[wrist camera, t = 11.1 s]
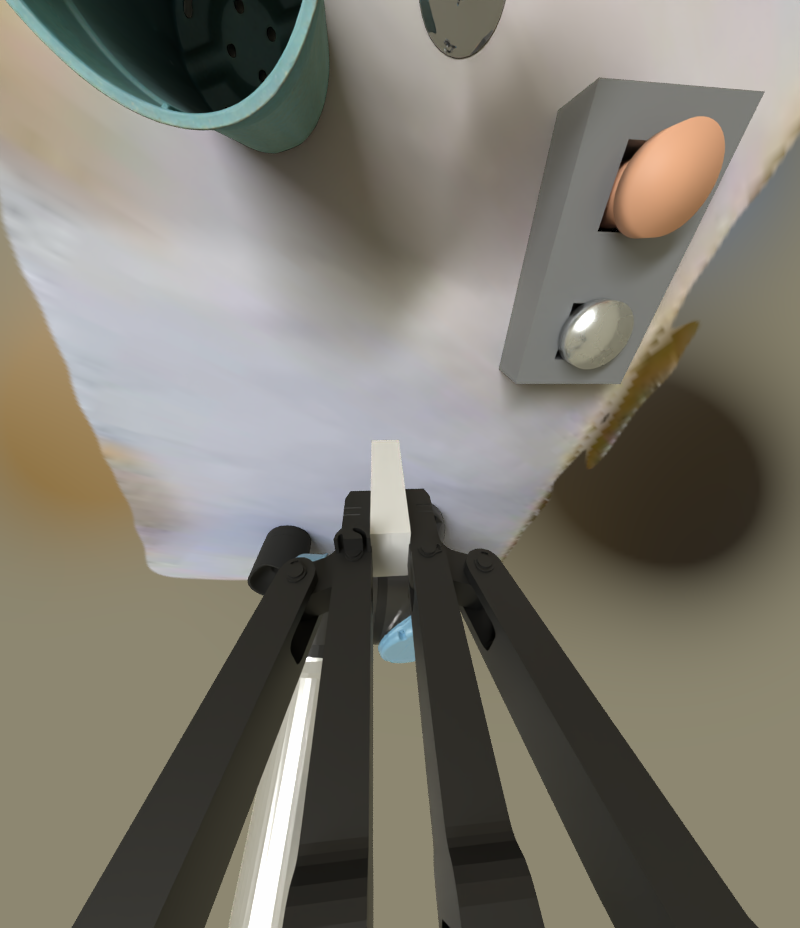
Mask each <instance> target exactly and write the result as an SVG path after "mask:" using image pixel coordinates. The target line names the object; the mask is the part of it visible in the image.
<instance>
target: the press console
mask: <svg viewBox="0 0 800 928" xmlns="http://www.w3.org/2000/svg"><path fill="white" fill-rule="evenodd" d="M763 94H764V92H763V91H751V90H739V89H727V88H715V87H704V86H692V85H680V84H668V83H656V82H644V81H633V80H621V79H609V78H598V79H597V80H596V81H594V82H593V83H592V84H591V85H589V86H588V87H587V88H586V89H584V90H583V91H582V92H581V93H579V94H578V95H577V96H576V97H574V98H573V99H572V100H571V101H569V102H568V103H567V104H566V105H564V106H563V107H562V108H561V109H559V110H558V114H557V118H556V123H555V127H554V131H553V136H552V140H551V144H550V149H549V153H548V157H547V162H546V166H545V170H544V175H543V179H542V184H541V188H540V192H539V197H538V201H537V205H536V210H535V214H534V218H533V223H532V227H531V231H530V236H529V240H528V244H527V249H526V253H525V258H524V262H523V266H522V271H521V275H520V279H519V284H518V288H517V292H516V297H515V301H514V305H513V310H512V314H511V318H510V323H509V327H508V332H507V336H506V340H505V345H504V349H503V353H502V358H501V362H500V366H499V369H500V370H501V371H502V372H503V373H504V374H505V375H506V376H508V377H509V378H510V379H511V380H512V381H513V382H514V383H515V384H620V383H621V381H622V379H623V377H624V375H625V373H626V371H627V369H628V367H629V365H630V363H631V361H632V359H633V357H634V355H635V353H636V351H637V349H638V347H639V345H640V343H641V341H642V339H643V337H644V335H645V333H646V331H647V329H648V327H649V325H650V323H651V321H652V319H653V317H654V315H655V313H656V311H657V309H658V307H659V305H660V302H661V300H662V298H663V296H664V294H665V292H666V290H667V288H668V286H669V284H670V282H671V280H672V278H673V276H674V274H675V272H676V270H677V268H678V266H679V264H680V262H681V260H682V258H683V256H684V254H685V252H686V250H687V248H688V246H689V244H690V242H691V240H692V238H693V236H694V234H695V232H696V230H697V228H698V226H699V224H700V221H701V219H702V217H703V215H704V213H705V211H706V209H707V207H708V205H709V203H710V201H711V199H712V197H713V195H714V193H715V191H716V189H717V187H718V185H719V183H720V181H721V179H722V177H723V175H724V173H725V171H726V169H727V167H728V165H729V163H730V161H731V159H732V157H733V155H734V153H735V151H736V149H737V147H738V145H739V143H740V141H741V138H742V136H743V134H744V132H745V130H746V128H747V126H748V124H749V122H750V120H751V118H752V116H753V114H754V112H755V110H756V108H757V106H758V104H759V102H760V100H761V98H762V96H763ZM697 116H705V117H709V118H711V119H714V120H715V121H716V122H717V123H718V124H719V125H720V127H721V129H722V131H723V134H724V139H725V154H724V160H723V164H722V168H721V171H720V174H719V176H718V179H717V181H716V183H715V185H714V187H713V189H712V191H711V193H710V194H709V196H708V198H707V199H706V201H705V202H704V203H703V205H702V206H701V207H700V209H699V210H698V211H697V212H696V213H695V214H694V215H693V216H692V217H691V218H690V219H689V220H688V221H687V222H686V223H685V224H683V225H682V226H681V227H679V228H678V229H676V230H675V231H673V232H671V233H669V234H667V235H664V236H660V237H653V238H639V239H634V238H629V237H626V236H625V235H623V234H622V233H621V232H620V231H619V230H618V228H617V231H616V232H598V229H599V226H600V223H601V220H602V217H603V214H604V211H605V208H606V205H607V202H608V199H609V196H610V193H611V190H612V187H613V184H614V181H615V178H616V175H617V172H618V169H619V166H620V163H621V161H626V160H629V159H631V158H632V157H633V155H634V154H635V153H636V152H637V150H638V149H639V148H640V147H641V146H642V145H643V144H644V143H645V142H646V141H647V140H648V139H650V138H651V137H652V136H654V135H655V134H657V133H658V132H660V131H662V130H664V129H666V128H669V127H671V126H673V125H675V124H678V123H680V122H682V121H685V120H687V119H690V118H693V117H697ZM599 298H604V299H610V300H616V301H620V302H623V303H625V304H627V305H628V306H629V307H630V309H631V311H632V313H633V317H634V325H633V330H632V333H631V336H630V338H629V340H628V342H627V344H626V345H625V347H624V348H623V349H622V350H621V352H620V353H619V354H618V355H617V356H616V357H615V358H613V359H612V360H611V361H609V362H608V363H606V364H604V365H602V366H600V367H597V368H594V369H580V368H578V367H575V366H574V365H572V364H570V363H568V362H566V361H565V360H564V359H563V358H562V357H561V355H560V353H559V350H558V337H559V333H560V331H561V328H562V326H563V324H564V323H565V321H566V320H567V318H568V317H569V315H570V312H571V309H572V306H573V303H586V302H588V301H591V300H594V299H599Z"/></svg>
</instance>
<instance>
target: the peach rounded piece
mask: <svg viewBox="0 0 800 928" xmlns="http://www.w3.org/2000/svg"><path fill="white" fill-rule="evenodd" d="M724 154H725V139H724V134H723V131H722V129H721V127H720V125H719V124H718V123H717V122H716V121H715V120H714V119H711V118H709V117H705V116H697V117H693V118H690V119H687V120H685V121H682V122H680V123H678V124H675V125H673V126H671V127H669V128H666V129H664V130H662V131H660V132H658V133H657V134H655V135H654V136H652V137H651V138H650V139H648V140H647V141H646V142H645V143H644V144H643V145H642V146H641V147H640V148H639V149H638V150H637V152H636V153H635V154H634V155H633V157H632V158H631V159H629V160H626V161H624V162H621V163H620V166H619V169H618V172H617V175H616V178H615V181H614V184H613V187H612V190H611V193H610V196H609V199H608V202H607V205H606V208H605V211H604V214H603V217H602V220H601V223H600V226H599V228H602V229H611V228H618V230H619V231H620V232H621V233H622V234H623V235H625V236H626V237H629V238H634V239H639V238H653V237H660V236H664V235H667V234H669V233H671V232H673V231H675V230H676V229H678V228H679V227H681V226H682V225H683V224H685V223H686V222H687V221H688V220H689V219H690V218H691V217H692V216H693V215H694V214H695V213H696V212H697V211H698V210H699V209H700V207H701V206H702V205H703V203H704V202H705V201H706V199H707V198H708V196H709V194H710V193H711V191H712V189H713V187H714V185H715V183H716V181H717V179H718V176H719V174H720V171H721V168H722V164H723V160H724Z"/></svg>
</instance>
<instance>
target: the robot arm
mask: <svg viewBox="0 0 800 928" xmlns="http://www.w3.org/2000/svg"><path fill="white" fill-rule="evenodd" d="M444 533H445V526H444V521H443V517H442V514H441V513H440V511H439V510H438V509H437V508H436V507H435V506H434V505H433V504H431V500H430V496H429V495H428V493H427V492H426V491H425V490H424V489H405V484H404V476H403V469H402V461H401V454H400V446H399V440H372V449H371V491H351V492H350V493H349V494H348V496H347V497H346V499H345V506H344V516H343V522H342V529H340V530H339V531H338V532H337V533H336V535H335V537H334V545H335V551H334V552H333V553H332V554H330V555H328V554H327V553H325V554H324V555H323V554H301V555H299V556H297V557H296V558H294V559H290V560H289V561H287V562H286V563H284V564H283V565H282V567H281V568H280V569H279V570H278V572H277V574H276V576H275V577H274V579H273V581H272V582H271V584H270V586H269V588H268V589H267V591H266V593H265V595H264V596H263V598H262V600H261V602H260V603H259V605H258V607H257V608H256V610H255V612H254V614H253V615H252V617H251V619H250V620H249V622H248V624H247V626H246V627H245V629H244V631H243V633H242V634H241V636H240V638H239V640H238V641H237V643H236V645H235V646H234V648H233V650H232V652H231V654H230V655H229V657H228V659H227V661H226V662H225V664H224V665H223V667H222V669H221V671H220V672H219V674H218V676H217V678H216V679H215V681H214V683H213V685H212V686H211V688H210V690H209V691H208V693H207V695H206V696H205V698H204V700H203V702H202V703H201V705H200V707H199V709H198V710H197V712H196V714H195V716H194V717H193V719H192V721H191V722H190V724H189V726H188V728H187V729H186V731H185V733H184V734H183V736H182V738H181V740H180V741H179V743H178V745H177V747H176V748H175V750H174V752H173V753H172V755H171V757H170V759H169V760H168V762H167V764H166V766H165V767H164V769H163V771H162V773H161V774H160V776H159V778H158V779H157V781H156V783H155V785H154V786H153V788H152V790H151V792H150V793H149V795H148V797H147V799H146V800H145V802H144V804H143V805H142V807H141V809H140V810H139V812H138V814H137V816H136V817H135V819H134V821H133V822H132V824H131V826H130V828H129V830H128V831H127V833H126V835H125V836H124V838H123V840H122V841H121V843H120V845H119V847H118V848H117V850H116V852H115V854H114V855H113V857H112V859H111V861H110V862H109V864H108V866H107V867H106V869H105V871H104V873H103V874H102V876H101V878H100V879H99V881H98V883H97V885H96V886H95V888H94V890H93V892H92V893H91V895H90V897H89V898H88V900H87V902H86V904H85V905H84V907H83V909H82V911H81V912H80V914H79V916H78V918H77V919H76V921H75V923H74V925H73V926H72V928H204V927H205V925H206V922H207V919H208V917H209V913H210V911H211V909H212V906H213V904H214V901H215V898H216V896H217V893H218V890H219V888H220V885H221V882H222V880H223V877H224V875H225V872H226V869H227V867H228V864H229V862H230V859H231V856H232V853H233V851H234V848H235V846H236V843H237V840H238V838H239V835H240V833H241V830H242V827H243V825H244V822H245V819H246V817H247V814H248V812H249V809H250V806H251V804H252V801H253V798H254V796H255V793H256V797H255V802H254V806H253V811H252V816H251V821H250V826H249V830H248V835H247V840H246V845H245V850H244V854H243V859H242V864H241V868H240V873H239V878H238V883H237V887H236V892H235V897H234V902H233V907H232V911H231V916H230V921H229V926H228V928H373V644H375V645H378V650H379V652H380V655H381V657H382V658H383V659H384V660H386V661H390V662H392V663H407V662H413V661H416V672H417V682H418V692H419V702H420V711H421V723H422V733H423V743H424V753H425V762H426V774H427V784H428V793H429V804H430V814H431V824H432V834H433V846H434V875H435V888H436V899H437V909H438V920H439V928H545V927H544V923H543V919H542V915H541V911H540V908H539V904H538V900H537V896H536V892H535V889H534V885H533V881H532V878H531V875H530V872H529V869H528V866H527V863H526V861H525V858H524V856H523V854H522V852H521V850H520V848H519V846H518V844H517V842H516V839H515V837H514V833H513V831H512V827H511V823H510V820H509V815H508V812H507V807H506V803H505V799H504V794H503V790H502V786H501V782H500V777H499V773H498V769H497V765H496V761H495V756H494V752H493V748H492V744H491V739H490V735H489V731H488V727H487V723H486V719H485V714H484V710H483V706H482V702H481V698H480V693H479V689H478V685H477V681H476V676H475V672H474V668H473V664H472V660H471V655H470V651H469V647H468V643H467V639H466V635H465V630H464V626H463V622H462V617H461V614H460V611H461V613H462V615H463V618H464V620H465V622H466V624H467V626H468V628H469V630H470V632H471V634H472V636H473V638H474V640H475V642H476V644H477V646H478V649H479V650H480V653H481V655H482V657H483V659H484V661H485V663H486V665H487V667H488V669H489V671H490V673H491V675H492V677H493V679H494V681H495V684H496V686H497V688H498V690H499V692H500V694H501V696H502V698H503V700H504V702H505V704H506V706H507V708H508V710H509V713H510V714H511V717H512V719H513V721H514V723H515V725H516V727H517V729H518V731H519V733H520V735H521V737H522V739H523V741H524V743H525V746H526V747H527V750H528V752H529V754H530V756H531V758H532V760H533V762H534V764H535V766H536V768H537V770H538V772H539V774H540V776H541V779H542V781H543V783H544V785H545V787H546V789H547V791H548V793H549V795H550V797H551V799H552V801H553V803H554V805H555V807H556V810H557V811H558V813H559V816H560V818H561V820H562V822H563V824H564V826H565V828H566V830H567V832H568V834H569V836H570V838H571V840H572V843H573V845H574V847H575V849H576V851H577V853H578V855H579V857H580V859H581V861H582V863H583V865H584V867H585V869H586V871H587V873H588V875H589V878H590V880H591V882H592V883H593V886H594V888H595V890H596V892H597V894H598V896H599V898H600V900H601V901H602V904H603V905H604V907H605V909H606V911H607V913H608V915H609V917H610V919H611V921H612V923H613V925H614V927H615V928H758V927H757V926H756V925H755V924H754V922H753V921H751V919H750V918H749V917H748V916H747V914H746V913H745V912H744V910H743V909H742V907H741V906H740V904H739V903H738V901H737V900H736V899H735V897H734V896H733V895H732V893H731V892H730V890H729V889H728V887H727V886H726V884H725V883H724V881H723V880H722V879H721V877H720V876H719V874H718V873H717V871H716V870H715V868H714V867H713V866H712V864H711V863H710V861H709V860H708V858H707V857H706V856H705V854H704V853H703V851H702V850H701V848H700V847H699V845H698V844H697V843H696V841H695V840H694V838H693V837H692V835H691V834H690V833H689V831H688V830H687V828H686V827H685V825H684V824H683V822H682V821H681V820H680V818H679V817H678V815H677V814H676V813H675V811H674V809H673V808H672V807H671V805H670V804H669V802H668V801H667V800H666V798H665V796H664V795H663V794H662V792H661V791H660V789H659V788H658V786H657V785H656V784H655V782H654V781H653V779H652V778H651V776H650V775H649V773H648V772H647V771H646V769H645V768H644V766H643V765H642V763H641V762H640V761H639V759H638V758H637V756H636V755H635V753H634V752H633V750H632V749H631V748H630V746H629V745H628V743H627V742H626V740H625V739H624V738H623V736H622V735H621V733H620V732H619V730H618V729H617V727H616V726H615V725H614V723H613V722H612V720H611V719H610V717H609V716H608V714H607V713H606V712H605V710H604V709H603V707H602V706H601V704H600V703H599V702H598V700H597V699H596V697H595V696H594V694H593V693H592V692H591V690H590V689H589V687H588V686H587V684H586V683H585V681H584V680H583V679H582V677H581V676H580V674H579V673H578V671H577V670H576V669H575V667H574V666H573V664H572V663H571V661H570V660H569V658H568V657H567V656H566V654H565V653H564V651H563V650H562V648H561V647H560V645H559V644H558V643H557V641H556V640H555V638H554V637H553V635H552V634H551V633H550V631H549V630H548V628H547V627H546V625H545V624H544V622H543V621H542V620H541V618H540V617H539V615H538V614H537V612H536V611H535V609H534V608H533V607H532V605H531V604H530V602H529V601H528V600H527V598H526V597H525V595H524V594H523V592H522V591H521V589H520V588H519V587H518V585H517V584H516V582H515V581H514V579H513V578H512V576H511V575H510V574H509V572H508V571H507V569H506V568H505V566H504V565H503V563H502V562H501V561H500V559H499V558H498V557H497V556H496V555H495V554H494V553H492V552H490V551H489V550H485V549H474V550H472V551H470V552H469V554H464V553H460V552H456V551H453V550H451V549H449V548H447V547H446V546H445V545H444V544H443V539H444ZM256 791H257V792H256Z"/></svg>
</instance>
